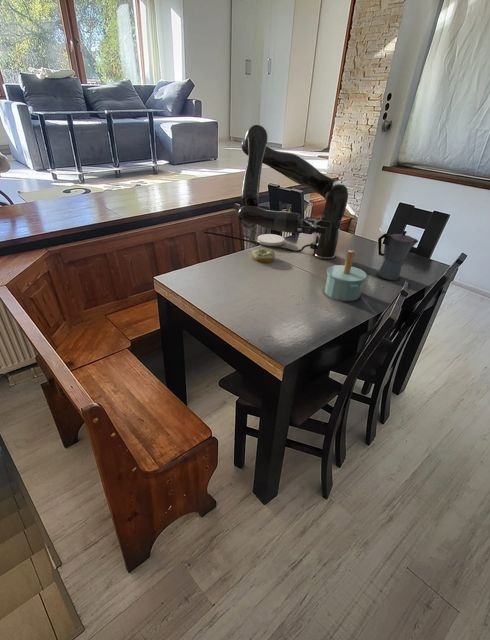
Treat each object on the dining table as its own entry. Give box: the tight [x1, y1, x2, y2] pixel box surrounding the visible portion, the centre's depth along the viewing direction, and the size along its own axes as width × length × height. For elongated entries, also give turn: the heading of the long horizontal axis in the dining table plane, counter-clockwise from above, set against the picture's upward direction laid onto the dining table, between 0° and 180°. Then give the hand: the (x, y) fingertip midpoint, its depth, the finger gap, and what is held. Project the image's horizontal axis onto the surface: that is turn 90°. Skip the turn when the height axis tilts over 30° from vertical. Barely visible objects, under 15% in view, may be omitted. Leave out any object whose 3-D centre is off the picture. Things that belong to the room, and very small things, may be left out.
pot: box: [324, 274, 365, 302], centre depth 140 cm, size 14×19×8 cm
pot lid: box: [326, 249, 367, 282], centre depth 136 cm, size 15×15×10 cm
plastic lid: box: [256, 233, 285, 247], centre depth 189 cm, size 14×14×2 cm
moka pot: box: [377, 230, 419, 281], centre depth 152 cm, size 10×15×20 cm, turn 78°
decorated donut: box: [252, 248, 276, 264], centre depth 170 cm, size 10×11×4 cm
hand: (328, 227), depth 136 cm, fingers open, 8 cm apart
